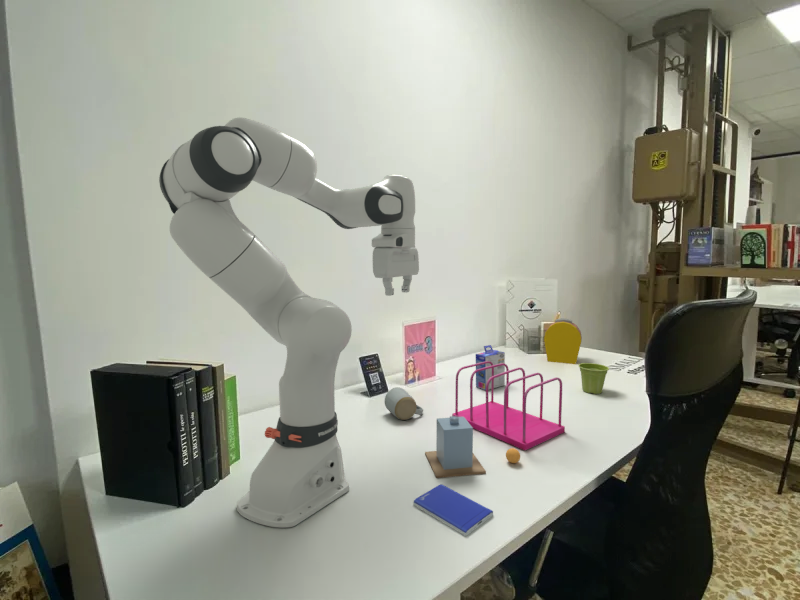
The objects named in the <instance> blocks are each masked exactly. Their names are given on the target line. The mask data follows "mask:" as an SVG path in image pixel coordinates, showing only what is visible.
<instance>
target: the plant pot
mask: <svg viewBox="0 0 800 600" xmlns="http://www.w3.org/2000/svg"><path fill="white" fill-rule="evenodd" d="M578 368H579V370H580V375H581V376H580V377H581V387H582V388H581V389H582V391H583V392H585V393H587V394H590V393H591V394H595V395H599V394H602V393H603V390H604V385H605V380H606V376H607V374H608V371H609V370H610V367H608V365H607V366H606V365H604V364H599V363H593V362H592V363H590V362H582V363H579V364H578Z"/></svg>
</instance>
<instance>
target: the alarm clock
mask: <svg viewBox="0 0 800 600" xmlns="http://www.w3.org/2000/svg"><path fill="white" fill-rule="evenodd" d="M543 341H544V347H545V354H546V360H547V361H546V362H549V363H557V364H558V363H560V364H569V365H577V361H578V357H579V354H580V353H579V352H580V348H581V345H582V332H581V330H580V328H579V327H578V325H577V324H575V323H574V322H573V320H571V319H569V318H557V319H555V321H554V322H552V323H550V325H549V326H548V327H547V329H546V330H545V332H544V337H543Z"/></svg>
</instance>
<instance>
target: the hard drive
mask: <svg viewBox="0 0 800 600" xmlns="http://www.w3.org/2000/svg"><path fill="white" fill-rule="evenodd" d="M413 506H414V507H416V508H418V509H419V510H422V512H424V513H426V514H428V515H430V516H431V517H433V518H434V519H436V520H438V521H440V522H441V523H443V524H445V525H446V526H448V527H450V528H452V529H453V530H455V531H457V532H459V533H460V534H462V536H468V535H470V533H472V532H473V531H475V530H476V529H477V528H478V527H479V526H481V525H482V524H483V523H485V522H486V521H487V520H490V518H491V517H493V516H494V510H492V509H490V508H488V507H486V506H484V505H482V504H480V503H479V502H477V501H475V500H472V499H471V498H469V497H467V496H466V495H463V494H462V493H460V492H458V491H455V490H454V489H451V488H450V487H448V486H447V485H443V484H441V483H440V484H438V485H436V486H435V487H433V488H432V489H430V490H428V491H427V492H424V493H423V494H421V495H420V496H418V497H416V498H414V500H413Z"/></svg>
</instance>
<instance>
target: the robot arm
mask: <svg viewBox="0 0 800 600" xmlns="http://www.w3.org/2000/svg"><path fill="white" fill-rule="evenodd" d="M317 172H318V164H317V159H316V156H315V154H314V152H313V151H312V150H311V149H310V148H309V147H308V146H306V144H304V143H303V142H301V141H300V140H298V139H296V138H294V137H293V136H290V135H289V134H287V133H285V132H282V131H281V130H278V129H277V128H274V127H272V126H270V125H268V124H265V123H262V122H259V121H256V120H254V119H251V118H250V119H249V118H246V117H240V116H239V117H235V118H232V119H230V120H229V121H228V122H226V124H225V125H216V126H215V125H214V126H210V127H206V128H204V129H202V130H200V131H198V132H197V133H196V134H195V135H194V136H193V137H192V138H191V139H189V140H188V141H186V142H184V143H183V144H181V145H180V146H178V147H177V149H175V151H174V152H173V153H172V154H171V156H170V158H168V159H167V160H166V161H165V162H164V164H163V165H162V167H161V170H160V173H159V177H158V178H159V179H158V180H159V181H158V183H159V187H160V191H161V193H162V196H163V197H164V199H165V201H167V203H168V205H169V209H170V211H171V213H172V214H173V216H172V218H171V220H170V222H169V233H170V236H171V238H172V239H173V241H174V242H175V244H176V245H177V246H178V247H179V248H180V249H181V251H182V252H183V254H185V255H186V257H187V258H188V259H189V260H190V261H191V262H192V263H193V265H194V266H196V267H197V268H198V269H199V270H200V271H201V272H202V273H203V274H204V275H205V276H206V277H207V278H209V279H210V280H211V281H212V282H213V283H214V284H215V285H217V286H218V288H220V289H221V290H223V291H224V293H226V295H228V296H229V297H231V299H233V300H234V301H235V302H236V303H237V304H239V305H240V306H241V307H242V308H243V310H245V312H247V314H248V315H250V317H251V319H253V320H254V321H255V322H256V323H257V324H258V325H259V326H260V327H261V328H262V329H263V330H264V331H265V332H266V333H267V334H268V335H269V336H270V337H272V338H273V339H274V340H275V341H276V342H277V343H279V344H281V345H283V346H285V348H286V360H285V366H284V370H283V374H282V376H281V377H280V378H279V380H278V397H279V398H278V399H279V417H278V420H277V422H276V423H277V424H276V427H275V428H273V427H270V426H268V427H266V428H265V431H264V434H263V435H264V437H265V438H266V439H273V440H274V441H273V442H272V444H271V445H270V447H269V448H268V450H267V451H266V453H265V454H264V455H263V457H262V458H261V460H260V461H259V463H258V464H257V466H256V467H255V469H254V470H253V471H252V473H251V476H250V481H249V490H248V491H247V493H245V494H244V495H242V497H241V498H240V499H239V500H238V501H237V502H236V510H237V512H238V514H240V516H241V517H243V518H245V519H247V520H249V521H251V522H254V523H255V524H260V525H262V526H266V527H270V528H271V527H272V528H292V527H295V526H296V525H299V524H300V523H302V522H303V521H304V520H306V519H308V518H309V517H311V516H313V515H314V514H315V513H317V512H318V511H320V510H321V509H323V508H325V507H326V506H327V505H329V504H331V503H332V502H333V501H335V500H337V499H338V498H340V497H341V496H343V495H344V494H346V493H348V492H349V491H350V485H349V483H348V481H347V480H346V477H345V470H344V461H343V453H342V449H341V448H342V447H341V446H340V443H339V440H338V438H337V437H338V436H337V432H338V424H339V420H338V413H337V412H336V411H335V410H336V408H335V404H336V403H335V400H336V399H335V379H336V371H337V366H338V363H339V359H340V355H341V353H342V352H343V351H344V350H345V348H346V347H347V346H348V344H349V343H350V340H351V338H352V330H353V329H352V323H351V319H350V317H349V316H348V314H347V313H346V312H345V311H344V310H343V309H341V307H339V306H338V305H336V304H334V303H333V302H331V301H330V300H327V299H321V298H315V297H312V296H310V295H309V294H307V293H305V292H304V291H302V290H301V288H300V287H299V286H298V285H297V283H296V282H295V281H294V279H293V278H292V277H291V275H290V274H289V272H288V270H287V267H286V265H285V263H283V261H282V260H280V258H278V256H277V255H275V253H274V252H273V251H271V249H270V248H268V246H266V244H265V243H264V242H262V240H260V238H259V237H258V236H257V235H255V234H254V232H253V231H251V230H250V229H249V227H248V226H246V225H245V224H244V223H243V222H242V221H241V220H240V219H239V217H238V216H237V215H236V213H235V211H234V209H233V207H232V204H231V200H230V199H232V198H233V197H235V196H236V195H237V194H238V193H240V192H241V191H243V190H245V189H246V188H247V187H248V186H249V185H250V184H251V183H252V182H256V183H257V184H259V185H261V186H263V187H267V188H269V189H271V190H272V191H277V192H279V193H282V194H284V195H288V196H290V197H293V198H294V199H297V200H299V201H300V202H303V203H304V204H306V205H309V206H310V207H313V208H315V209H317V210H318V211H320V212H323V213H324V214H326V215H327V216H328V217H329V218H330V219H331V220H332V221H333V222H334V223H335V224H336V225H337V226H338V227H340V228H341V229H345V230H352V229H357V228H367V227H369V228H370V227H379V226H381V228H380V233H378V235H376V236H374V237H373V238H372V239H371V246H372V248H373V250H372V273H373V275H374V277H375V278H377V279H378V278H379V279H382V284H383V286H384V295H385V296H387V297H388V296H389V297H390V296H394V295H395V288H394V287H393V284H392V282H393V280H394V279H393V278H399V277H402V280H403V282H402V285H401V293H409V292H410V287H411V282H412V279H413V276H415V275H418V274H419V272H420V261H419V259H420V258H419V251H418V248H416V226H415V219H414V218H415V214H416V195H415V186H414V182H413V181H412V180H411V179H410V178H409V177H407V176H405V175H401V174H399V175H398V174H388V175H385V176H384V178H383V179H381V180H380V181H378V182H376V183H373V184H370V185H368V186H367V185H366V186H362V187H357V188H348V189H347V188H346V189H337V188H334V187H333V186H330V185H328V184H327V183H325V182H323V181H322V180H320V179H318V178H316V177H317Z"/></svg>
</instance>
